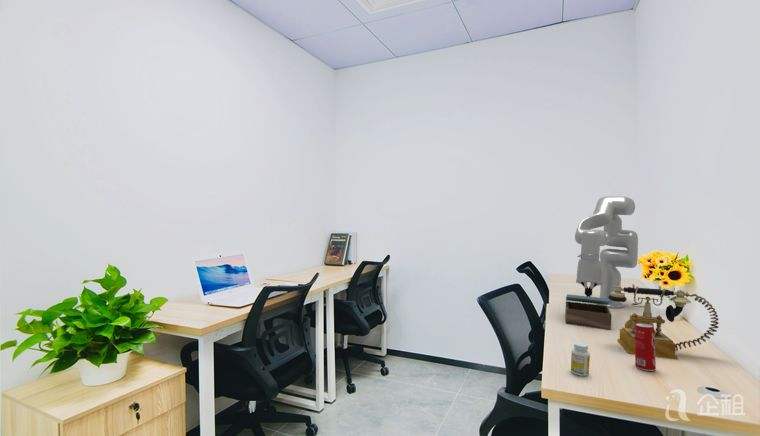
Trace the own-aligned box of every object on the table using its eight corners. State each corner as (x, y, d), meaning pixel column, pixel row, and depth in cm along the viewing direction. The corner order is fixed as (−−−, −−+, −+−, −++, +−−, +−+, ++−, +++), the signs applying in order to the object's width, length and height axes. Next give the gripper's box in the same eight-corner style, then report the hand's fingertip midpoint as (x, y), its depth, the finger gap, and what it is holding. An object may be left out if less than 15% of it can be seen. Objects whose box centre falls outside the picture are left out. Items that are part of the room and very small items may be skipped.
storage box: (565, 314, 190) (565, 301, 190) (606, 320, 183) (607, 305, 182) (566, 323, 176) (566, 309, 176) (610, 330, 168) (611, 314, 168)
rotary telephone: (699, 346, 150) (702, 284, 149) (725, 365, 133) (729, 295, 132) (599, 336, 160) (601, 277, 159) (611, 351, 143) (614, 286, 142)
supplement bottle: (577, 376, 122) (578, 347, 121) (567, 369, 127) (568, 341, 127) (592, 376, 122) (594, 347, 122) (582, 368, 128) (583, 341, 127)
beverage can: (655, 373, 125) (657, 329, 124) (631, 368, 129) (634, 325, 128) (655, 367, 130) (657, 324, 129) (633, 362, 134) (635, 320, 133)
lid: (565, 300, 190) (565, 297, 190) (607, 305, 182) (607, 302, 183) (567, 296, 176) (567, 294, 176) (611, 301, 168) (611, 299, 169)
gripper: (572, 257, 175) (570, 296, 175) (609, 259, 168) (607, 300, 169) (571, 255, 181) (570, 292, 182) (607, 257, 175) (605, 296, 176)
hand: (588, 296), depth 176 cm, fingers closed
